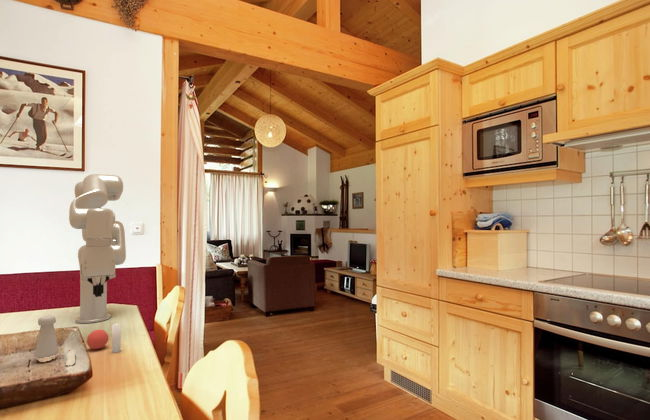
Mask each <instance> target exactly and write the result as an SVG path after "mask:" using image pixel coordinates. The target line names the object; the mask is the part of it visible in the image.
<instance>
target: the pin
mask: <svg viewBox="0 0 650 420" xmlns="http://www.w3.org/2000/svg"><path fill="white" fill-rule="evenodd" d="M121 331H122V324H121V322H116V323H112V324H111V353H112V354H116V353H120V352H121V349H122V348H121V347H122V346H121V345H122V344H121V339H122V338H121V337H122V336H121V335H122V334H121V333H122V332H121Z"/></svg>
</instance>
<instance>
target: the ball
mask: <svg viewBox="0 0 650 420" xmlns="http://www.w3.org/2000/svg"><path fill="white" fill-rule="evenodd" d="M108 341H109V334H108V333H107V331H105V330H103V329H95V330H93V331H91V332H90V333H89V335H88V336H87V338H86V343H87V347H89V348H90V349H93V350H100V349H102V348H104V347H105V346H106V345H107V343H108Z"/></svg>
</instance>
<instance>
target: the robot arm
mask: <svg viewBox="0 0 650 420" xmlns="http://www.w3.org/2000/svg"><path fill="white" fill-rule="evenodd" d="M123 192H124V183H123V180H122V178H121V177H120V176H118V175H115V174H112V175H111V174H95V173H93V174H89V175H87V176H85V177H84V179H83V180H82V181H79V182H77V183H76V184H75V186H74V196H75V198H74V199H73V200H72V201H71V203H70V206H69V214H68V216H69V217H68V220H69V225H70V227H72V228H73V229H76V230H81V234H82V235H81V236H82V239H83V241H84V242H85V244H84V245H82V246H80V248H79V249H78V251H77V260H78V265H79V275H80V277H79V278H80V279H79V284H80V285H79V286H80V288H79V289H80V291H79V293H80V296H79V297H80V298H79V299H80V300H79V301H80V302H79V316H77V317H76V318H75V323H77V324H91V323H99V322H103V321H106V320H110V318H111V317H112V316H111V313H108V312H107V304H108V303H107V299H108V298H107V297H108V295H107V294H108V293H107V292H108V290H107V289H108V281H109V280H112V279H115V278H116V277H117V275H116V266H120V265H123V264H124V263H125V262H126V258H127V254H126V253H127V251H126V250H127V249H126V237H125V236H126V235H125V232H126V231H125V227H124V225H123V223H122V222H121V221H119V220H116V214H115V212H113V210H112V209H110V208H102V207H104V206H106V204H108V202H109V201H118V200H120V198H121V196H122V194H123Z"/></svg>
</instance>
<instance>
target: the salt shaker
mask: <svg viewBox="0 0 650 420" xmlns="http://www.w3.org/2000/svg"><path fill="white" fill-rule="evenodd" d="M55 323H57V319H56V316H55V315H52V314H51V315H49V314H48V315H43V316H40V317H39V318H38V320H37V324H38V326H40V328H39V332H38V337H37V341H36V345H35V350H34V357H37V358H44V357H50V356H53V355H56V354H57V353H58V354H59V346H58V341H57V336H56V332H55V331H56V330H55V326H54V324H55ZM58 354H57V355H58Z"/></svg>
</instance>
